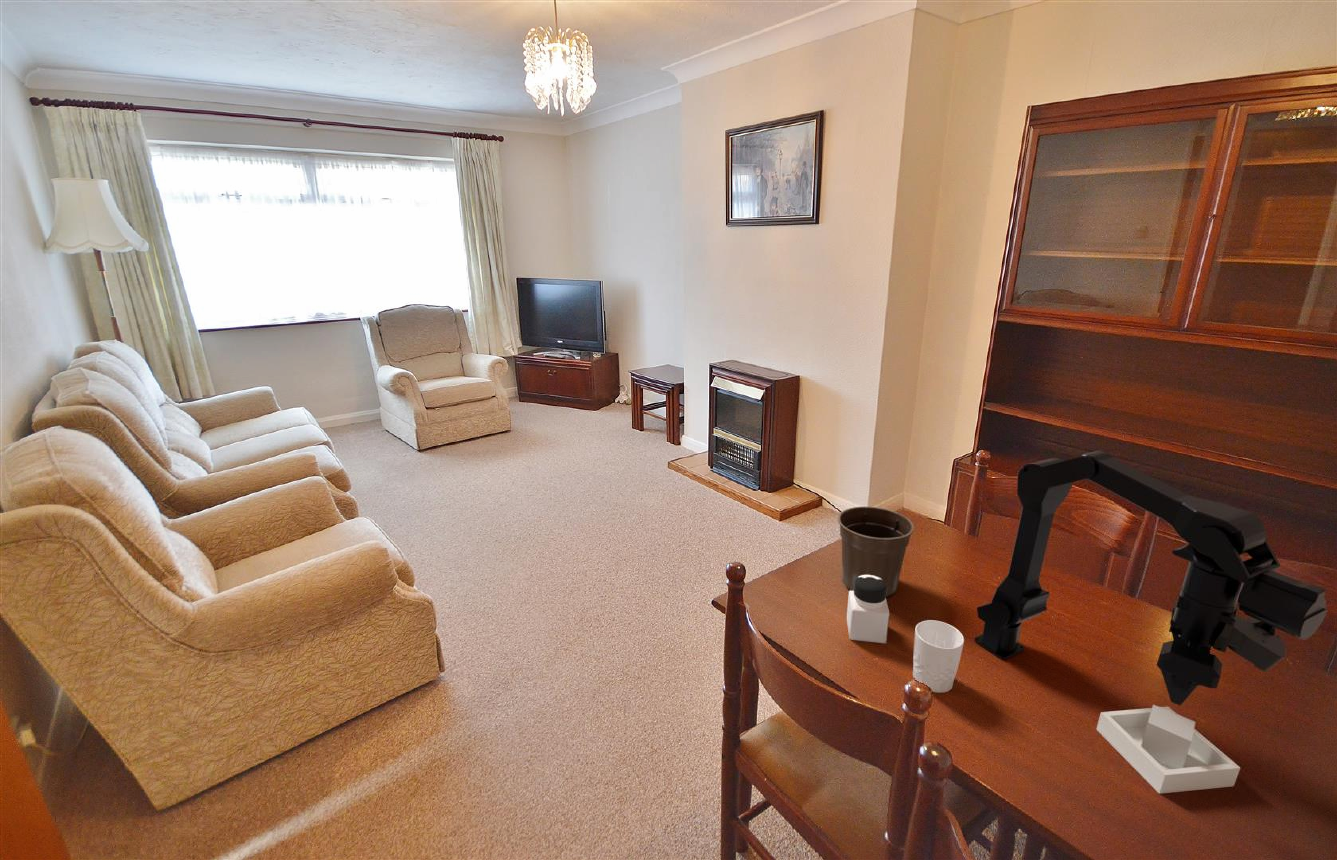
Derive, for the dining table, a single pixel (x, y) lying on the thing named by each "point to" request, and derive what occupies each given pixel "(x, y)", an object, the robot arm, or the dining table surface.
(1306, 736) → the dining table surface
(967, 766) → the dining table surface
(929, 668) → the white cup
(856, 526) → the plant pot
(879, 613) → the medicine bottle
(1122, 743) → the tray
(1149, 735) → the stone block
